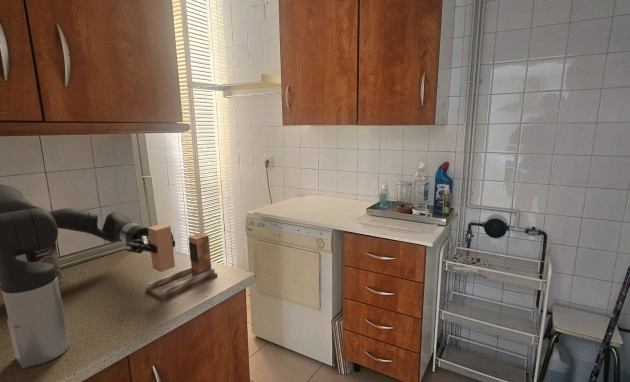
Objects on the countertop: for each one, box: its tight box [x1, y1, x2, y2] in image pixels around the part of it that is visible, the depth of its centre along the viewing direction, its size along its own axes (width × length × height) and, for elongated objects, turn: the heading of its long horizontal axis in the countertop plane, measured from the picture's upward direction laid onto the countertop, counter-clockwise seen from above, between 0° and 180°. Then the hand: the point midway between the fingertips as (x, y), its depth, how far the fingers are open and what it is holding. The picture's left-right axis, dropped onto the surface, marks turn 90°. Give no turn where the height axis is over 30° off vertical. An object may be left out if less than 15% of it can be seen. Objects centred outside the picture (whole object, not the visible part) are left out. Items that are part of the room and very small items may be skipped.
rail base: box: [145, 232, 218, 302], centre depth 105 cm, size 19×10×14 cm, turn 143°
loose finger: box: [147, 223, 176, 273], centre depth 99 cm, size 5×4×13 cm
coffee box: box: [16, 241, 64, 285], centre depth 103 cm, size 9×6×16 cm
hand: (164, 246), depth 98 cm, fingers closed on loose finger, 5 cm apart
